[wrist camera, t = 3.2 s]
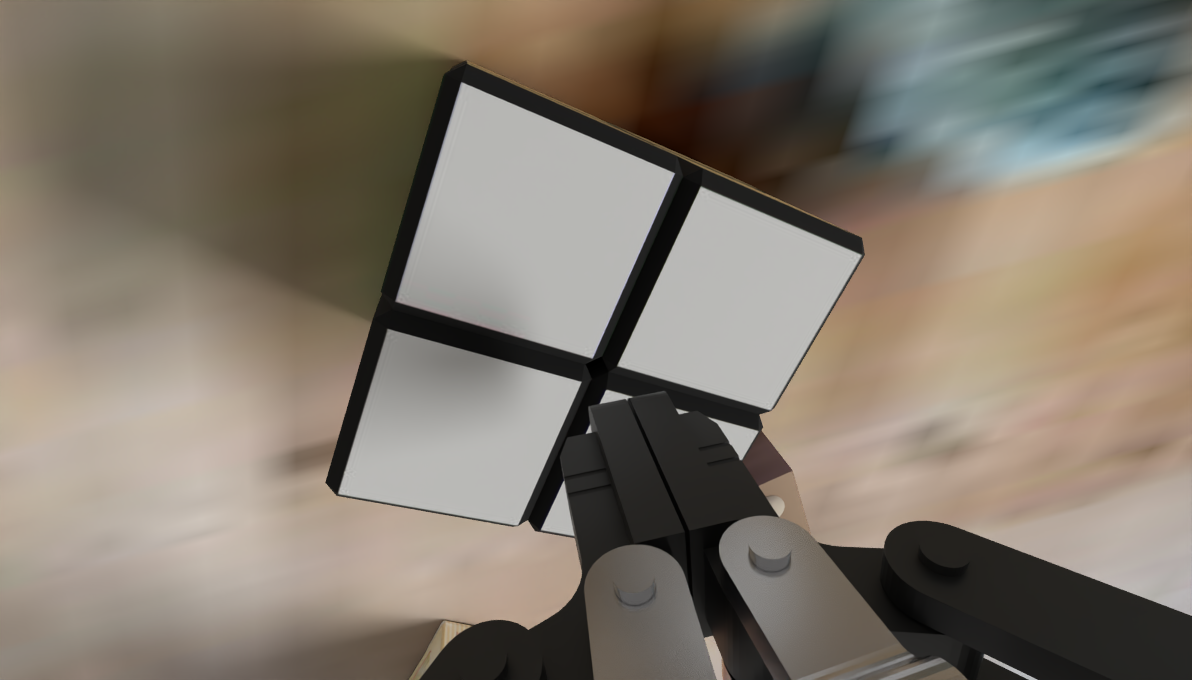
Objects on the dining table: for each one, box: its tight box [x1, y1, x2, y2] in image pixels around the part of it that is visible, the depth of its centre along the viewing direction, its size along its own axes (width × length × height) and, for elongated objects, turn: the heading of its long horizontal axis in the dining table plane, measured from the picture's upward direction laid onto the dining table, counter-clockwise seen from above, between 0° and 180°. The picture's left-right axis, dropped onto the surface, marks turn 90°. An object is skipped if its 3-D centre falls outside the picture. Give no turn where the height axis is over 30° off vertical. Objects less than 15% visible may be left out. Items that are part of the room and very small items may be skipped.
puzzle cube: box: [325, 61, 865, 538], centre depth 18 cm, size 10×10×10 cm
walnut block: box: [743, 431, 811, 535], centre depth 26 cm, size 5×5×5 cm
